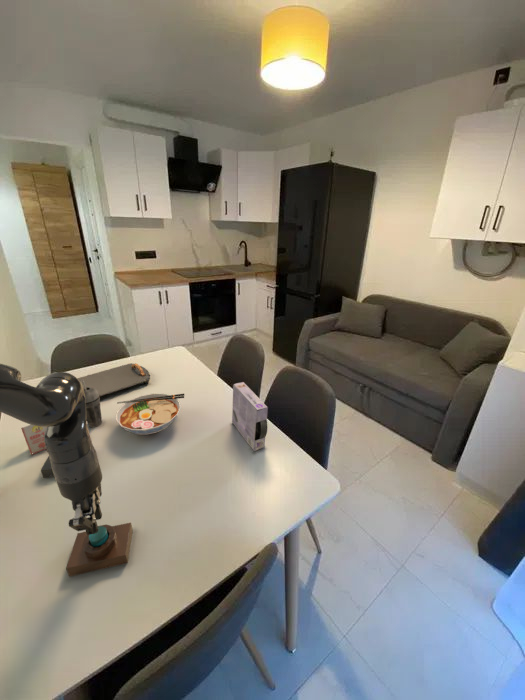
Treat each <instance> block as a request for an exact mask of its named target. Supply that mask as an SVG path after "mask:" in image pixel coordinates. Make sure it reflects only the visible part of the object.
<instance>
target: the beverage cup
mask: <svg viewBox="0 0 525 700" xmlns="http://www.w3.org/2000/svg"><path fill="white" fill-rule="evenodd" d="M82 383H83V386H84V393H85V401H86V422H87V426H88V427H89V428H96V427H99V426H100V425H102V423H103V419H102V417H103V416H102V409H101V403H100V402H101V397H100V395H99V393H98V391H97V390H96V389H94V388H91V387H87V388H86V387H85V384H84V381H83V379H82Z"/></svg>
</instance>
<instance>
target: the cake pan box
mask: <svg viewBox="0 0 525 700" xmlns="http://www.w3.org/2000/svg"><path fill="white" fill-rule="evenodd" d="M231 408H232V411H231V412H232V413H231V423H232V424H233V425H234V427H235V428H236V430H238V432H239V435H241V437H242V438H243V440H244V441H246V443H247V444H248V445H249V447H250V448H251V450H253V452H256V451H259V450H261V449H263V448H265V447H266V446H265V445H266V436H267V434H268V420H267V419H268V413H269V411H268V410H269V407H268V406H267V405H266V404H265V403H264V401H262V399H260V398H259V396H258V395H256V393H255V392H254V391H253V390H252V389H251V388H250V387H249V386H248V385H247V384H246V383H245V382H244V381H242V382H237V383H234V384H233V385H232V407H231Z"/></svg>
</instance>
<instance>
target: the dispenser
mask: <svg viewBox="0 0 525 700" xmlns="http://www.w3.org/2000/svg"><path fill="white" fill-rule="evenodd" d="M99 526H104V527H105V528H106V530H107V533H108V539H107V541H106V542H105V543H104V544H103V545H101V546H99V547H93V546H91V543H90V540H89V535H87V533H86V531H81V532H78V533H76V536H75V540H74V542H73V547H72V548H71V553H70V555H69V558H68V561H67V564H66V568H65V569H66V572H67V575H68V577H69V578H70V577H74V576H78V575H82V574H86V573H91V572H96V571H100V570H103V569H104V570H105V569H107V568H112V567H116V566H120V565H121V566H122V565H125V564H128V563H129V558H130V551H131V545H132V539H133V538H132V537H133V532H134V529H133V525H132V522H127V523H121V524H117V525H109V524H102V525H101V524H100V525H98V527H99Z"/></svg>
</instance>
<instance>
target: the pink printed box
mask: <svg viewBox="0 0 525 700" xmlns="http://www.w3.org/2000/svg"><path fill="white" fill-rule="evenodd" d="M46 428H47V427H39V426H34V425H30V424H28V425H25V426H22V427H21V429H20V430H21V432H22V434H23V438H24V440H25V444H26V446H27V448H28V451H29V453H30V455H31V456H32V455H35V454H37V453H40V452H43V451H45V450H47V449H46V446H45V442H44V435H45V431H46ZM32 453H33V454H32Z"/></svg>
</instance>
